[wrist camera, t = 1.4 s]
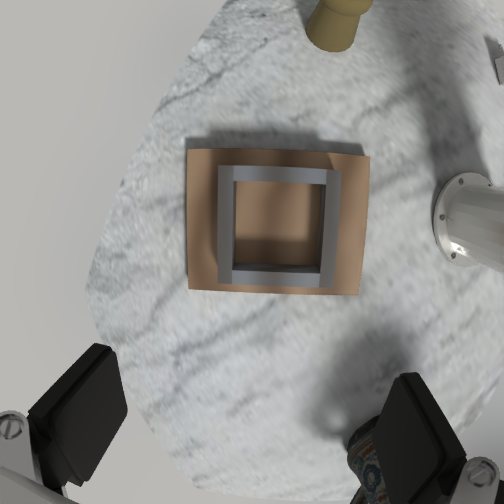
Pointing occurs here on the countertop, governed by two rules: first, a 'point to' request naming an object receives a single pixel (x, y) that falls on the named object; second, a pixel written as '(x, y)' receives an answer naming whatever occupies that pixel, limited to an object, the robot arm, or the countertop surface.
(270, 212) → the shaker holder
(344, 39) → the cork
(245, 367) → the countertop surface
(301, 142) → the countertop surface
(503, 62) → the usb wall charger
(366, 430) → the beer stein
